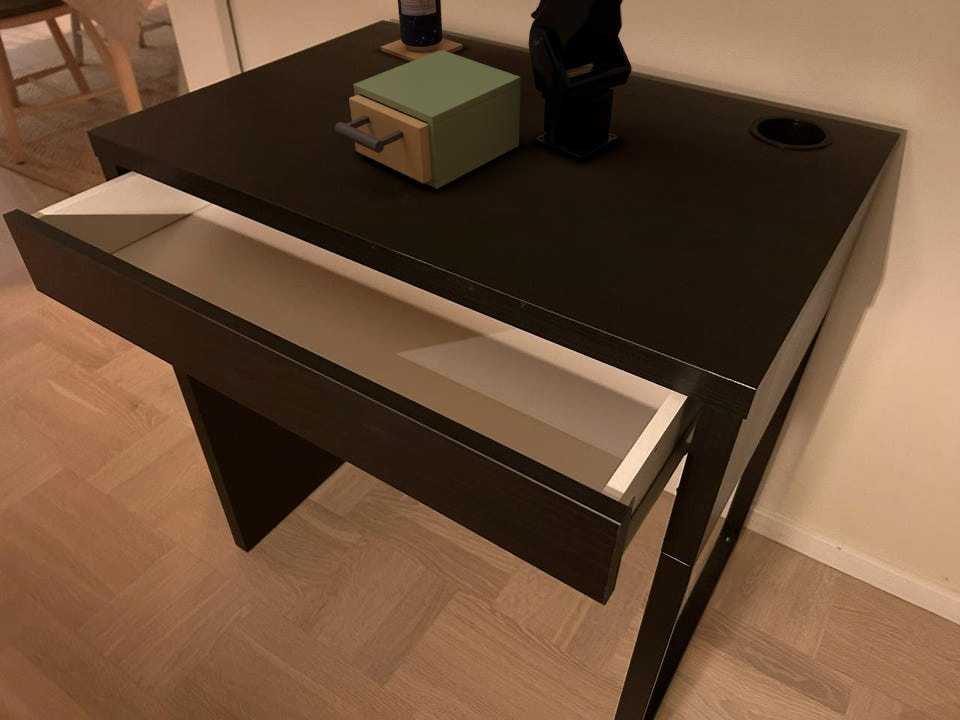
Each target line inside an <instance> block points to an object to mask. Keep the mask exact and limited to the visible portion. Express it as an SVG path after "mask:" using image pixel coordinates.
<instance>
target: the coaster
mask: <svg viewBox="0 0 960 720" xmlns="http://www.w3.org/2000/svg"><path fill="white" fill-rule="evenodd" d="M463 49H464V45H463V44H462V43H459V42H456V41H453V40H450V39H447V38H445V37H443V39H442V41H441V42H440V43H439V44H438V45H437V47H436V48H434V49H432V50H429V51H413V50H410V49H408V48H407V46H406V45H405V44H404V43H403V42H402V41H401V38H400V39H397V40H395V41H392V42H389V43H387V44H384V45H382V46H380V51H381V52H383V53H385V54H389V55H391V56H394V57H396V58H399V59H401V60H405V61H408V62H412V61H414V60H417V59H419V58H422V57H424V56H427V55H429V54H432V53H435V52H437V51H440V50H443V51H446V52H449V53H452V54H454V53H455V52H458V51H461V50H463Z"/></svg>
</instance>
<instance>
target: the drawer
mask: <svg viewBox="0 0 960 720" xmlns="http://www.w3.org/2000/svg"><path fill="white" fill-rule="evenodd" d="M348 101H349V109H350V116H351V117H350V118H351V120H350V121H349V122H347V123H344V122H342V121H339V122H336V124H335V126H334V132H335V133H336V134H337V135H339V136H341V137H342V138H345V139H347V140H349V141H351V142H354V145H355V151H356V152H357V153H359V154H361V155H363V156H365V157H367V158H369V159H371V160H374V161H375V162H378V163H380V164H382V165H384V166H386V167H389V168H390V169H393V170H394V171H396V172H399V173H400V174H402V175H404V176H407V177H409V178H410V179H413V180H415V181H417V182H419V183H421V184H425V183H426V182H428V181H430V180H431V179H432V172H431V157H430V141H429V126H428V122H426V121H423V120H421V119H419V118H416V117H414V116H411V115H409V114H407V113H404V112H402V111H400V110H397V109H395V108H392V107H390V106H388V105H385V104H383V103H380V102H378V101H376V100H373V101H372V100H369V99H367V98H365V97H362V96H360V95H356V96H355V95H353V96H350V97H349V98H348Z"/></svg>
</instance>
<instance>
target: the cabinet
mask: <svg viewBox="0 0 960 720" xmlns="http://www.w3.org/2000/svg"><path fill="white" fill-rule="evenodd" d="M521 79H522V78H521V76H519V75H516V74H514V73H510V72H507V71H505V70H501V69H498V68H495V67H493V66H490V65H487V64H483V63H481V62H479V61H475V60H472V59H469V58H466V57H464V56H461V55H458V54H455V53H449V52H446V51H443V50H440V51H437V52H435V53H432V54H429V55H427V56H424V57H422V58H419V59H417V60H414V61H412V62H410V61H408V62H406V63H404V64H402V65H399V66H396V67H393V68H391V69H389V70H386V71H384V72H381V73H378V74H376V75H373V76H371V77H369V78H366V79H363V80H360V81H358V82H355V83H353V84H352V85H353V96H356V95H360V96H362V97H365V98H367V99H369V100H372V101H373V100H376V101H378V102H380V103H383V104H385V105H388V106H390V107H392V108H395V109H397V110H400V111H402V112H404V113H407V114H409V115H411V116H414V117H416V118H419V119H421V120H423V121H426V122H428V126H429V141H430V157H431V172H432V179H431V180H430V181H428V182H426V183H424V184H425V185H427V186H429V187H432V188H433V189H436V190H438V189H440V188H442V187H444V186H445V185H448V184H449V183H451V182H453V181H455V180H458V179H459V178H461V177H463V176H465V175H466V174H468V173H471V172H472V171H474V170H476V169H478V168H480V167H481V166H483V165H486V164H487V163H489V162H491V161H493V160H494V159H497V158H499V157H501V156H502V155H504V154H506V153H508V152H510V151H512V150H514V149H516V148H518V147H519V146H520V125H521V123H520V122H521V121H520V120H521Z"/></svg>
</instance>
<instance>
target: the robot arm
mask: <svg viewBox="0 0 960 720" xmlns="http://www.w3.org/2000/svg"><path fill="white" fill-rule="evenodd" d="M623 1H624V0H540V1H539V3H538V5H537V7H536V8H535V10H534V11H532V12H531V13H530V17H531V18H532V19H534V20H533V21H532V23H531V25H530V29H529V34H528V35H529V36H528V43H527V44H528V51H529V56H530V57H529V58H530V63H531V68H532V69H531V70H532V74H533V80H534V87H535V89H536V90H537V91H538V92H540V93H541V98H543V99H544V110H543V111H544V112H543V132H544V133H543V134H541V135H539V136H537V137H536V143H537V144H538V145H541V146H543V147H546V148H548V149H550V150H553V151H556V152H558V153H561V154H564V155H566V156H568V157H571V158H574V159H576V160H579V161H585V160H587V159H588V158H590V157H592V156H594V155H595V154H597V153H599V152H600V151H602V150H603V149H605V148H607V147H609V146H611V145H612V144H614V143H616V142H617V140H618V136H617V135H616V134H613V133H610V131H611V121H612V111H613V102H614V94H615V89H613V88H615V87H618V86H624V85H626V84H627V83H628V80H629V78H630V75H631V72H632V69H633V68H632V65H631V62H630V60H629V57H628V55H627V53H626V50H625V48H624V46H623V42H622V41H621V39H620V36H619V35H620V33H621V30H622V27H623V14H622V3H623ZM591 64H592V66H589V67H586V68H583V69H579V70H576V71H572V72H569V73H568V71H570V70H574V69H578V68H581V67H584V66H588V65H591Z"/></svg>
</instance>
